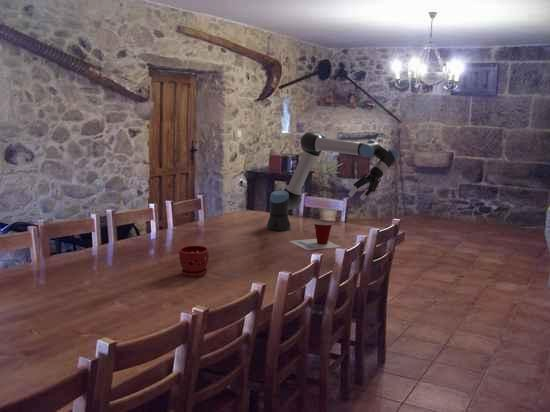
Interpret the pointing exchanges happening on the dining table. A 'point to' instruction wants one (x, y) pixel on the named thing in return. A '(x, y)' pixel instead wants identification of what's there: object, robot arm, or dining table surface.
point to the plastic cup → (322, 231)
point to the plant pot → (194, 260)
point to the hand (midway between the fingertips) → (355, 197)
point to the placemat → (313, 244)
